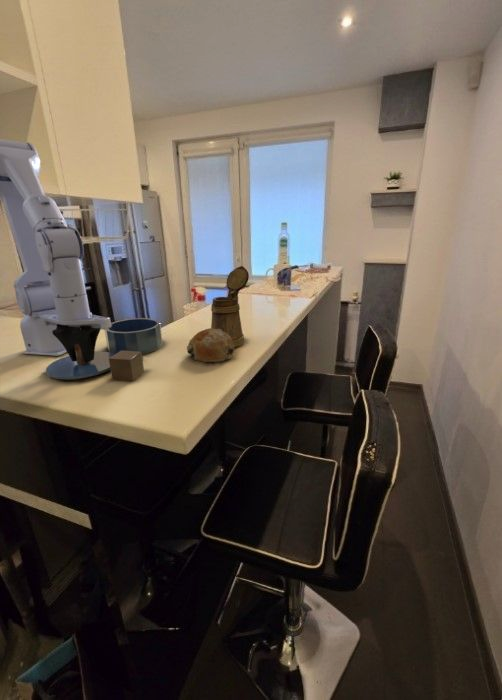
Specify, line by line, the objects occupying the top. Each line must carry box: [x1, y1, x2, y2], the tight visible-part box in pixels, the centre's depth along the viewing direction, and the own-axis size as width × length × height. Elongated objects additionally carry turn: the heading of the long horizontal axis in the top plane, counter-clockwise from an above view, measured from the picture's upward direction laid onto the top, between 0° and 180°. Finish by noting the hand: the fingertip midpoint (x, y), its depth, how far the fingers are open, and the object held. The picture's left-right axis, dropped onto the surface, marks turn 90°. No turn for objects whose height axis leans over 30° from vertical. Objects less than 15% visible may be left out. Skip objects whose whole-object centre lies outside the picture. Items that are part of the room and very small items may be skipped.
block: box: [109, 351, 145, 382], centre depth 64 cm, size 4×4×4 cm
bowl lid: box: [45, 344, 115, 380], centre depth 67 cm, size 14×14×5 cm
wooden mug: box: [210, 265, 250, 348], centre depth 82 cm, size 9×14×18 cm, turn 153°
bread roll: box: [186, 327, 235, 363], centre depth 73 cm, size 10×10×8 cm
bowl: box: [103, 317, 163, 355], centre depth 79 cm, size 13×13×6 cm
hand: (83, 360), depth 67 cm, fingers closed on bowl lid, 2 cm apart
